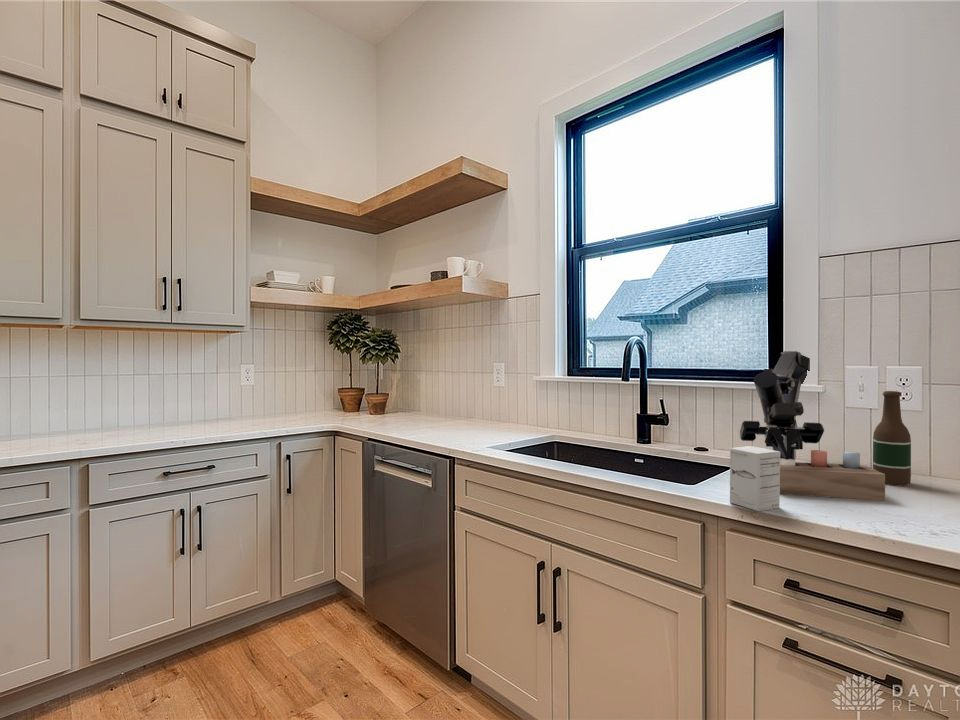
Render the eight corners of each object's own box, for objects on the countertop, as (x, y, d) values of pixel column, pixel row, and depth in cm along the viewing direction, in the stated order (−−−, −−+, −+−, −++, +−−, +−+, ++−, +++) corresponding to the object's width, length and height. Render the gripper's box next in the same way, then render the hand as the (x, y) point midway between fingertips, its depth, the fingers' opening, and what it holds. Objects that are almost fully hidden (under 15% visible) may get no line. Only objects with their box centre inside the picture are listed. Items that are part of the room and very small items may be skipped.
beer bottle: (873, 477, 141) (873, 389, 140) (910, 481, 136) (910, 391, 135) (872, 483, 134) (872, 391, 134) (911, 487, 130) (911, 392, 129)
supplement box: (728, 503, 116) (728, 447, 116) (751, 499, 119) (751, 445, 119) (757, 512, 110) (757, 453, 110) (781, 508, 113) (781, 450, 113)
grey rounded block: (840, 467, 128) (840, 451, 128) (856, 468, 128) (856, 451, 128) (846, 470, 125) (846, 453, 125) (862, 471, 124) (862, 454, 124)
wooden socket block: (766, 483, 134) (766, 460, 134) (864, 489, 128) (865, 465, 128) (778, 493, 124) (778, 469, 124) (885, 500, 118) (885, 474, 118)
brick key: (808, 466, 130) (808, 449, 130) (824, 467, 129) (824, 450, 129) (813, 469, 127) (813, 452, 127) (829, 469, 126) (829, 452, 126)
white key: (777, 474, 132) (777, 457, 132) (792, 475, 131) (792, 458, 131) (781, 477, 129) (782, 460, 129) (797, 478, 128) (797, 461, 128)
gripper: (742, 390, 137) (752, 438, 127) (821, 391, 133) (839, 441, 122) (735, 416, 145) (744, 463, 135) (810, 418, 140) (826, 467, 130)
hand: (787, 458), depth 130 cm, fingers closed, pressing on white key
